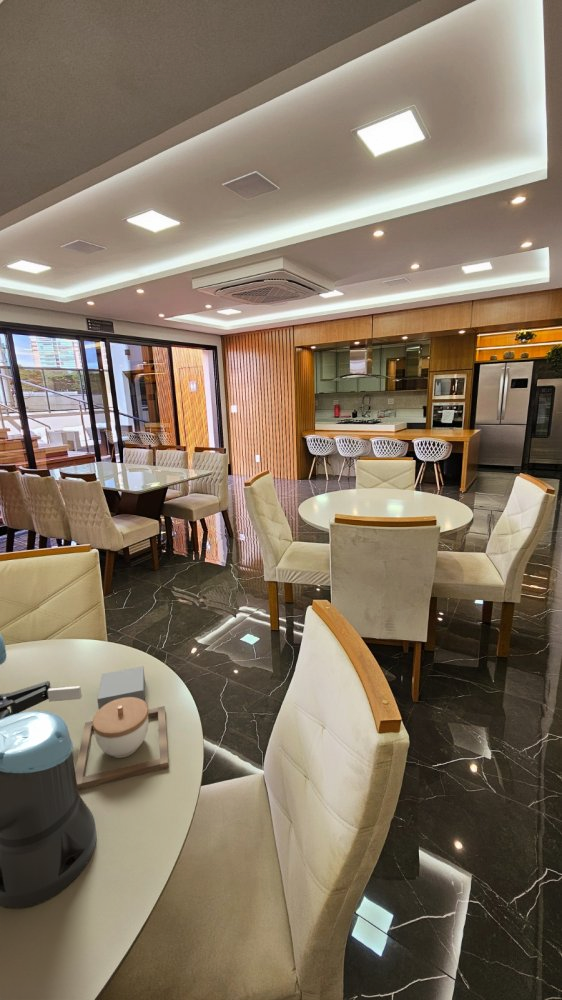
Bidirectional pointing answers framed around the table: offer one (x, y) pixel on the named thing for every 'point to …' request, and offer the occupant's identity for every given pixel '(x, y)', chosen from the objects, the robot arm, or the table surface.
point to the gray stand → (121, 685)
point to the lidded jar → (121, 726)
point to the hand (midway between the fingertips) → (69, 714)
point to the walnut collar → (123, 771)
